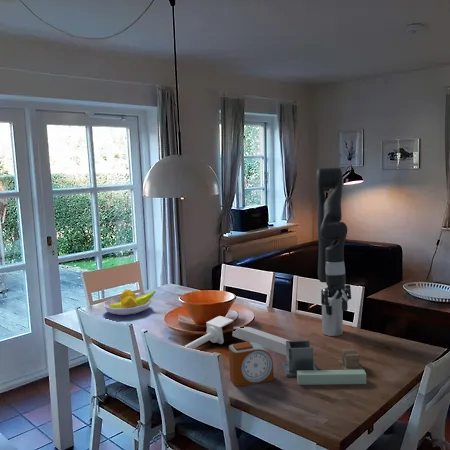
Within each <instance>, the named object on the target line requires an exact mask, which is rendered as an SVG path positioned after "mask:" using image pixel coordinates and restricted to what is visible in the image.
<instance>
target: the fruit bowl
mask: <svg viewBox="0 0 450 450" xmlns="http://www.w3.org/2000/svg"><path fill="white" fill-rule="evenodd" d="M154 294H156V290H153V291H152V292H150V293H146V294H136V293H135V292H133V291H132V290H131V289H125V290H123V292H121V294H120V295H119V296H115V297H111V298H109V299H107V300H105V301H104V302H103V307H104V308H105V310H106V312H109V313H110V314H114V315H116V314H117V316H130V314H134V315H137V314H139V313H140V312H143V311H145V310H147V309H148V308H149V307H150V305H151V304H152V302H153V299H152V297H154ZM136 313H137V314H136Z"/></svg>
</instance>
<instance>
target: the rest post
mask: <svg viewBox="0 0 450 450" xmlns="http://www.w3.org/2000/svg"><path fill="white" fill-rule="evenodd" d="M338 364H339V366H340V368H341V370H364V368H363V366H362V365H361V363H360V354H359V353H358V352H357V349H355V348H347V349H345V348H343V349H342V348H341V359H338Z"/></svg>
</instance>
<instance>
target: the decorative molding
mask: <svg viewBox="0 0 450 450" xmlns="http://www.w3.org/2000/svg"><path fill="white" fill-rule="evenodd" d="M240 327H241V326H233V329H236V330H235V331H233V329H232V335H231V336H232V337H234V338H237V339H239V340H242V341H245V342H256V343H258V344H260V345H261V346H262V347H263V348H264V349H265V350H270V351H272V352H274V353H276V354H280V355H282V356H284V357H285V356H286V341H291V340H289V339H286V338H283V337H281V336H277V335H274V334H271V333H268V332H265V331H263V330H260V329H256V328H253V327H250V326H243V327H244V328H240Z"/></svg>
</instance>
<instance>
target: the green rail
mask: <svg viewBox="0 0 450 450" xmlns="http://www.w3.org/2000/svg"><path fill="white" fill-rule="evenodd" d="M296 381H297V385H298V386H302V385H303V386H309V385H311V386H313V385H314V386H315V385H367V373H366V371H365V369H363V370H343V369H321V370H319V369H317V370H299V371H297V376H296Z"/></svg>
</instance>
